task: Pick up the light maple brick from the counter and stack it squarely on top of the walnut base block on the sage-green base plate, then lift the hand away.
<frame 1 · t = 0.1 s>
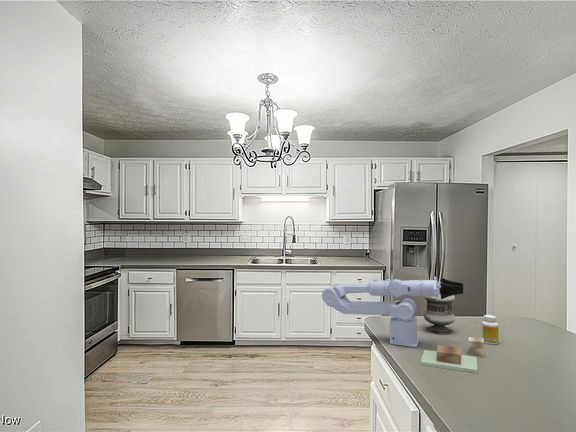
hand: (463, 288, 133), 22 cm above the countertop, tool horizontal, fingers open, 7 cm apart
supplement bottle: (490, 343, 141), on the countertop
maple brick: (476, 354, 129), on the countertop
base block: (449, 354, 122), on the baseplate, point 2 cm above the countertop
baseplate: (449, 362, 122), on the countertop
apothecary jar: (439, 331, 156), on the countertop
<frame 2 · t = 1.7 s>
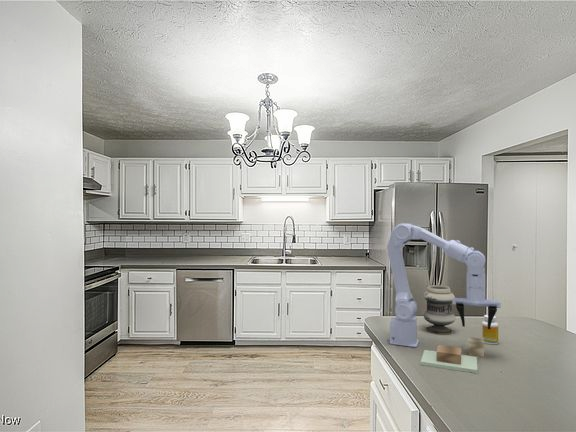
hand: (476, 327, 129), 9 cm above the countertop, tool pointing down, fingers open, 7 cm apart
nothing on the countertop moved.
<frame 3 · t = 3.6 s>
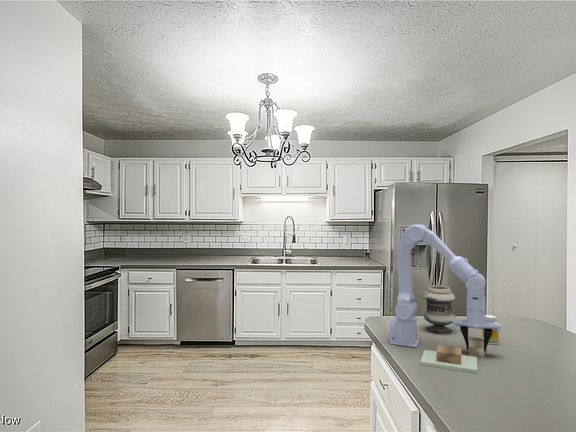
hand: (476, 349, 129), 1 cm above the countertop, tool pointing down, fingers closed on maple brick, 4 cm apart
maple brick: (476, 354, 129), on the countertop, touching gripper
everything else where it was.
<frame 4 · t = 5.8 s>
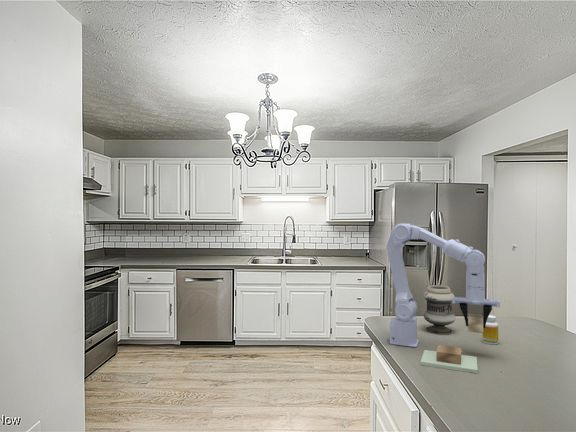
hand: (475, 326, 129), 9 cm above the countertop, tool pointing down, fingers closed on maple brick, 4 cm apart
maple brick: (475, 330, 129), point 8 cm above the countertop, touching gripper
everything else where it was.
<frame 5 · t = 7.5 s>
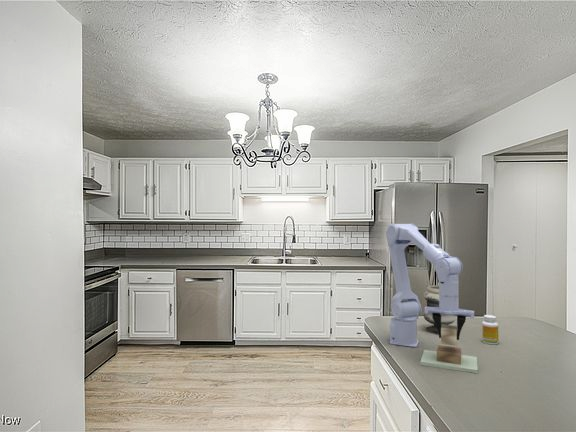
hand: (449, 338, 122), 8 cm above the countertop, tool pointing down, fingers closed on maple brick, 4 cm apart
maple brick: (449, 342, 122), point 6 cm above the countertop, touching gripper
everything else where it was.
when the fingers open (7 cm above the countertop, at t = 8.5 s): maple brick drops 1 cm, resting on base block.
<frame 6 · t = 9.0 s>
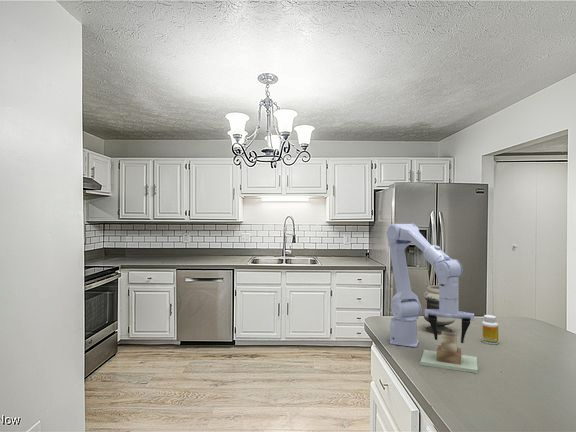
hand: (449, 340, 122), 7 cm above the countertop, tool pointing down, fingers open, 7 cm apart
maple brick: (449, 349, 122), point 4 cm above the countertop, touching base block
everything else where it was.
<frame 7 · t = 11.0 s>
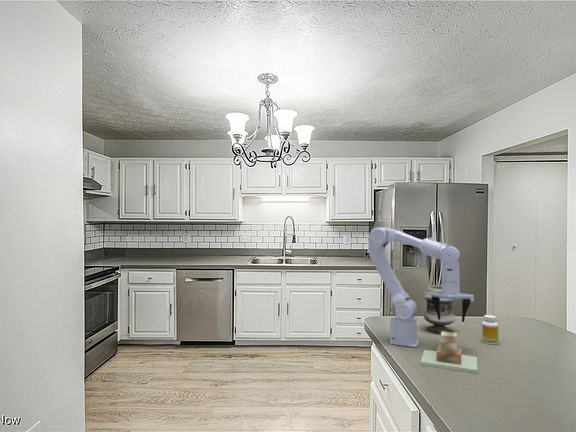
hand: (451, 320, 133), 10 cm above the countertop, tool pointing down, fingers open, 7 cm apart
nothing on the countertop moved.
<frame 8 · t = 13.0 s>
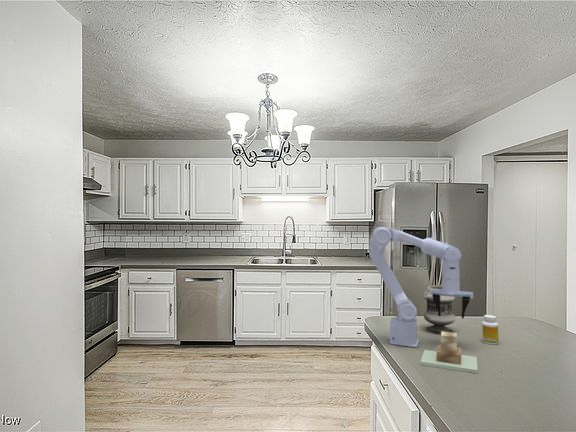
hand: (451, 316, 138), 10 cm above the countertop, tool pointing down, fingers open, 7 cm apart
nothing on the countertop moved.
at the end: maple brick 0.0 cm off-centre on the base block, point 4.0 cm above the base block's base; maple brick tilted 0°; the gripper is holding nothing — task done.
